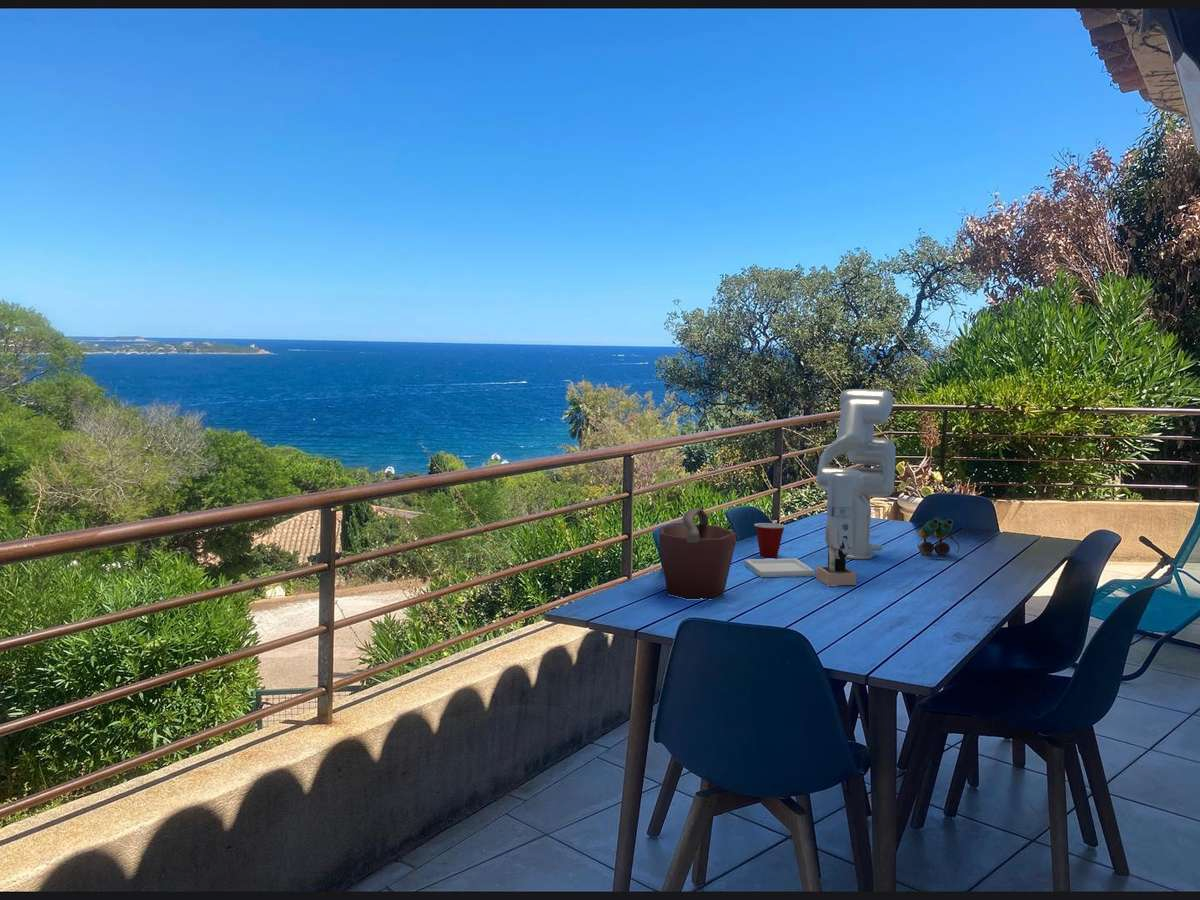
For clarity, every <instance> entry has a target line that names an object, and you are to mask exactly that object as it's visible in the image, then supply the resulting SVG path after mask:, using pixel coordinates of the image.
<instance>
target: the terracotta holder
mask: <svg viewBox="0 0 1200 900" xmlns="http://www.w3.org/2000/svg"><path fill="white" fill-rule="evenodd" d="M815 573H816V574H815V575H816V577H815V579H816V578H817V579H818V580H817V579H816V580H817V581H819V580H820V581H821V582H820V581H819V582H820V583H822V582H823V583H825V584H826V585H829V586H831V585H857V584H856V583H857V573H856V572H855V571H853V570H851V569H850V568H848V567H846V566H845V571H843V573H830V572H829V567H828V565H822V566H820V565H819V566H816V571H815ZM823 583H822V584H823ZM825 584H824V585H825ZM826 585H825V586H826Z"/></svg>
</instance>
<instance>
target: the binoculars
mask: <svg viewBox="0 0 1200 900" xmlns="http://www.w3.org/2000/svg"><path fill="white" fill-rule="evenodd" d="M953 524H954V520H953V519H951V518H949V519H946V520H942V519H941V518H939V517H935V518H932V520H928V521H927V522H926V523H925V524H923V526H922V527H921V529H920V530H919V531H918V535H919V537H920V539H919V540H918V542H917V548H918V550H919V552H920V553H921V554H922V555H923V556H925V557H927V558H929V559H931V560H936V561H946V560H951V559H952V558H954V557H956V555H958V553H959V551H960V543H959V542H958V541H957V540H956V539H955V538H954V535H953V534H952V531H951V530H952V529H953ZM933 535H934V537H935V538H936V539H937V540H939V543H938V542H937V543H936V544H934V543H932V542H931V541H927V539H929V538H930V536H933ZM947 536H948V537H949V539H950V540H952V541H954V543H956V544H957V546H958V550H957V551H956V553H955V554H954V555H953V556H951V557H948V558H935V557H932V556H930V555H931V554H932V553H934V552H935V554H937V556H940V557H944V556H946V555H948V554H949V553H950V551H951V546H950V545H949V544H948V543H947V542H944V541H943V539H945V538H946V537H947ZM921 540H923V542H922V543H920V541H921ZM942 541H943V542H942Z"/></svg>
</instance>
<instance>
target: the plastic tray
mask: <svg viewBox="0 0 1200 900" xmlns="http://www.w3.org/2000/svg"><path fill="white" fill-rule="evenodd" d="M745 565H746V566H748V567H749V568H751V569H752V570H753V571H754V572H755V573H757V574H758V575H759V576H760V577H777V576H779V577H780V576H791V577H790V578H802V577H801V576H815V575H816V574H815V573H816V570H814V569H813V567H812V568H811V567H810V566H809V565H807V564H805V563H804V562H802V561H801V560H799V559H798V558H795V557H794V558H777V559H763V558H749V559H744V566H745ZM746 566H745V567H746ZM749 568H748V569H749ZM754 572H753V573H754ZM755 573H754V574H755ZM759 576H758V577H759ZM793 576H794V577H793ZM797 576H799V577H797ZM760 577H759V578H760ZM780 578H781V577H780Z"/></svg>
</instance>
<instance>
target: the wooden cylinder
mask: <svg viewBox="0 0 1200 900" xmlns="http://www.w3.org/2000/svg"><path fill="white" fill-rule="evenodd" d="M840 549H843V547H840ZM841 552H842V551H839V553H841ZM836 558H837V557H836V549H835V548H834V547H833V546H832V545H831V544H830V555H829V572H830V573H843V571H838V572H836V571H835V559H836Z"/></svg>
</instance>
